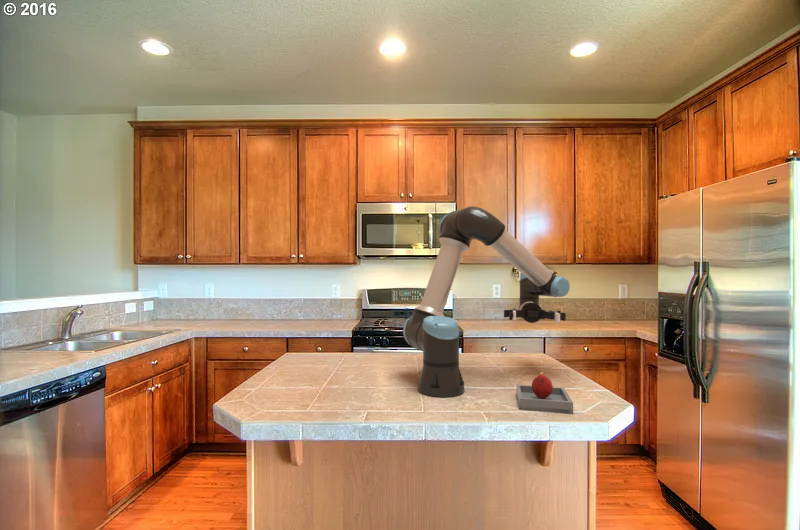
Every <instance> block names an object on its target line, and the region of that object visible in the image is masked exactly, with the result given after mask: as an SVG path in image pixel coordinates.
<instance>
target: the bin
mask: <svg viewBox="0 0 800 530" xmlns="http://www.w3.org/2000/svg"><path fill="white" fill-rule="evenodd" d="M515 385H516V386H515V387H516V390H515V391H516V394H515V395H516V399H517V406H518V410H519V411H520V410H521V411H532V412H534V411H535V412H545V413H546V412H547V413H558V414H559V413H560V414H570V415H573V414H574V402H573V400H572V399H571V397H570V395H569V394H568V392H567V390H566V388H565V387H561V386H559V387H558V386H556V387H555V386H553V391H552V393H551V394H550V395H549V396H548V397H547V398H545V399H540V398H539V397H537V396H536V395H535V394H534V392H533V390H532V384H531V385H530V384H529V385H528V384H515Z"/></svg>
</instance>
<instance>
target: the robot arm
mask: <svg viewBox="0 0 800 530" xmlns="http://www.w3.org/2000/svg"><path fill="white" fill-rule="evenodd" d="M506 229H507V226H506V225H505V224H504V223H503V222H502V221H501V220H500V219H499V218H497V217H496V216H495V215H493V214H492V213H491V212H489V211H487V209H486V210H485V209H484V208H482V207H479V206H467V207H464V208H461V209H458V210H452V211H451V212H449V213H447V214H445V215H444V216H443V217H442V218H441V220H440V222H439V225H438V230H439V234H440V236H439V238H438V241H439V244H440V248H439V251H438V254H437V255H436V259H435V261H434V265H433V268H432V270H431V274H430V276H429V280H428V283H427V284H426V285H427V286H426V288H425V290H424V294H423V297H422V300H421V302H420V305H418V306H416V307H414V310H413V313H412V315H411V316H410V317H408V318H407V320H406V321H405V322H404V324H403V326H402V327H403V329H402V334H403V338H404V340H405V341H406V343H407V344H408V345H409V346H411V347H412V348H413V349H416V350H419V351H421V352H422V369H421V372H420V375H419V378H418V381H417V391H418V392H419V393H420V394H423V395H426V396H430V397H434V398H435V397H437V398H438V397H439V398H449V397H457V396H460V395H462V394H464V393H465V382H464V379H463V374H462V371H461V369H460V361H459V360H460V328H459V322H458V321H457V320H456V319H455V318H453V317H449V316H445V315H444V310H445V307H446V304H447V301H448V298H449V295H450V294H451V290H452V287H453V283H454V281H455V277H456V275H457V272H458V269H459V265H460V263H461V259H462V257H463V254H464V253H465V252H466V251H468V250H469V249H470V245H471V243H472V240H476V241H478V242H481V243H482V244H483V245H484V246H486V247H491V248H492V249H493V250H495V252H497V253H498V254H499V255H501V256H502V257H503V258H504V259H505V260H507V261H508V263H510V264H511V265H512V266H513V267H515V269H516V270H517V271H519V272H520V274H519V275H520V276H519V301H518V302H519V303H518V305H519V306H518V308H511V309H510V308H509V309H503V317H504V318H508V320H510V321H516V320H517V318H521V319H523V320H524V321H525V322H527V323H529V324H535V323H537V322H539V321H540V320H554V322H556V323H561V321H563V322H564V321H566V320H567V317H566V315H567V313H566V312H562V311H561V310H557V311H556V310H555V311H553V310H545V309H542V307H541V306H540V296H542V297H552V298H564V297H565V296H567V295H568V294H569V292H570V286H571V284H570V282H569V279H568V278H566V277H565V276H561V275H556V274H554V273H553V272H552V271H551V270H550V269H549V268H548V267H547V266H546V265H544V263H542V262H541V261H540V260H539V259H538V258H537V257H536V256H535V255H534V254H532V253H531V252H530V251H529V250H528V249H527V248H526V247H525V246H524V245H522V244H521V243H520V241H518V240H517V239H516V237H514V236H513V235H512V234H511V233H510V232H508V230H506Z"/></svg>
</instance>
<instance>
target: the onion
mask: <svg viewBox="0 0 800 530" xmlns="http://www.w3.org/2000/svg"><path fill="white" fill-rule="evenodd" d="M531 386H532V390H533V392H534V394H535V395H536V396H537V397H539V398H540V399H545V398H547V397H548V396H549V395H550V394H551V393H552V391H553V387H554V385H553V383H552V381H551V380H550V378H548V376H547V375H545V372H544V371H541V372H540V374H539V375H536V376H535V378H533V380H532V382H531Z"/></svg>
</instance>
